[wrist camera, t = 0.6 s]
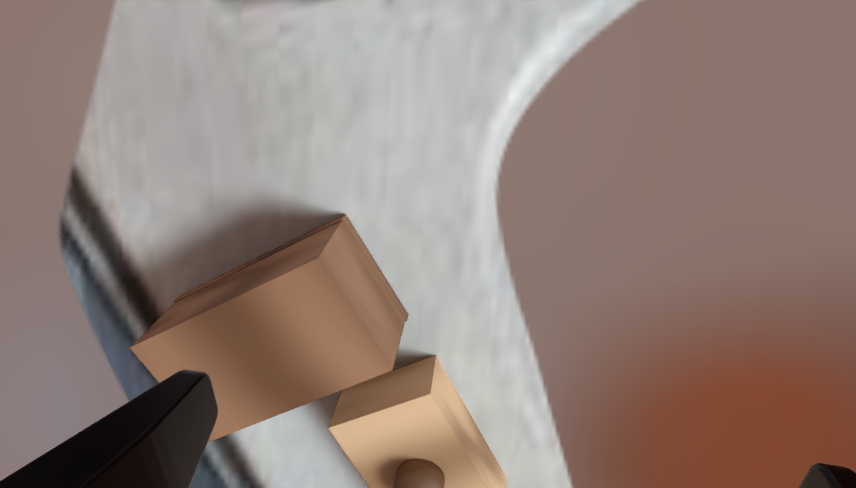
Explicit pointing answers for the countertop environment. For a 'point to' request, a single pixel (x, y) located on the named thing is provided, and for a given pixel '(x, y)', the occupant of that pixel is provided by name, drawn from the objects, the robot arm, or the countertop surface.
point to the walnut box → (282, 328)
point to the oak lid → (413, 432)
